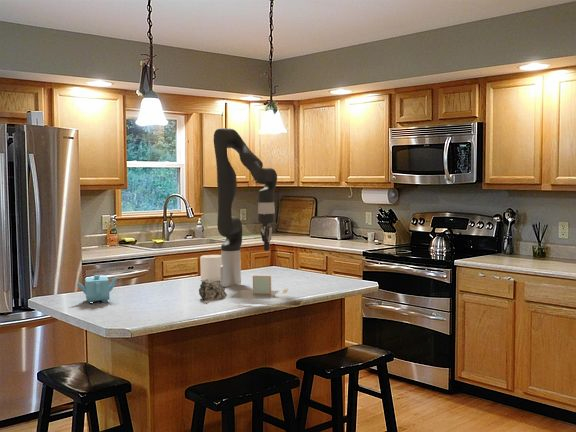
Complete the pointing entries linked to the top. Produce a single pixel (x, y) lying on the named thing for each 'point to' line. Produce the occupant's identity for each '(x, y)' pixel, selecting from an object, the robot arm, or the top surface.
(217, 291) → the rock
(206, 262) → the cup
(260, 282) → the tile
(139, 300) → the top surface
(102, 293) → the teapot
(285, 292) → the turner
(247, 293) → the board
